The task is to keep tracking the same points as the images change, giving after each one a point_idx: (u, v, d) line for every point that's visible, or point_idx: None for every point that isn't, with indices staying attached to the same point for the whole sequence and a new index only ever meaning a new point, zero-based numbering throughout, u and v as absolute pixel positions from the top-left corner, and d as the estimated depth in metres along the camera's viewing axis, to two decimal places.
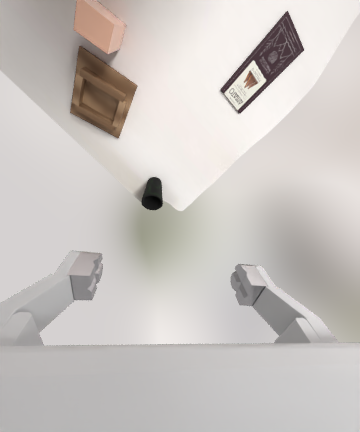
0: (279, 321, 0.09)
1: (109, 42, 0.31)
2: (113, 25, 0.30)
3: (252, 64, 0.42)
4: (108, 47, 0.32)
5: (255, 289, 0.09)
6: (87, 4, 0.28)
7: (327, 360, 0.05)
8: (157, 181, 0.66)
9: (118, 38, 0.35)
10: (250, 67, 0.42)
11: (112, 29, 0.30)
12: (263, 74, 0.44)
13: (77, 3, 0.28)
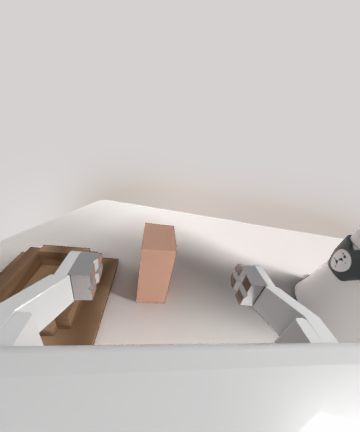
0: (279, 321, 0.09)
1: (156, 249, 0.21)
2: (175, 251, 0.22)
3: None
4: (149, 249, 0.21)
5: (255, 289, 0.09)
6: (173, 232, 0.26)
7: (327, 360, 0.06)
8: None
9: (153, 283, 0.24)
10: None
11: (171, 250, 0.22)
12: None
13: (168, 226, 0.27)
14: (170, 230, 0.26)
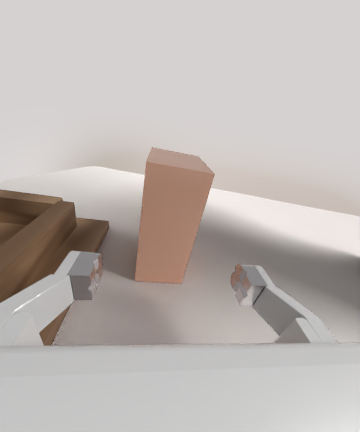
0: (279, 321, 0.09)
1: (175, 166, 0.11)
2: (211, 174, 0.11)
3: None
4: (162, 164, 0.11)
5: (255, 289, 0.09)
6: (199, 160, 0.15)
7: (327, 360, 0.05)
8: None
9: (166, 244, 0.14)
10: None
11: (203, 171, 0.11)
12: None
13: (189, 155, 0.16)
14: (194, 158, 0.15)
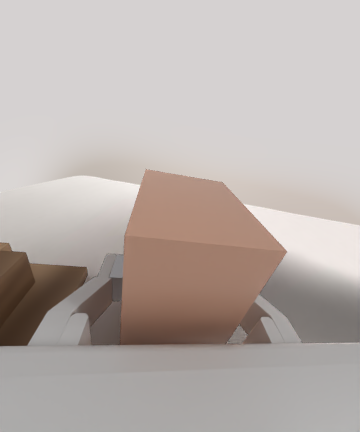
0: (248, 320, 0.08)
1: (196, 239, 0.04)
2: None
3: None
4: (167, 238, 0.04)
5: None
6: None
7: (327, 360, 0.06)
8: None
9: None
10: None
11: (261, 246, 0.05)
12: None
13: (208, 181, 0.10)
14: (219, 189, 0.09)
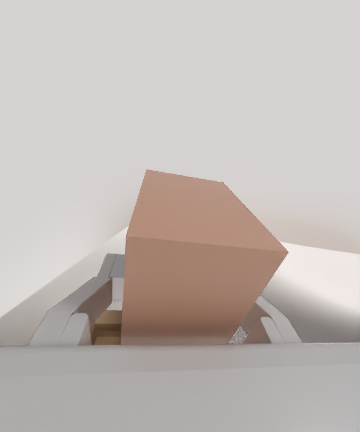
0: (248, 320, 0.08)
1: (198, 240, 0.04)
2: None
3: None
4: (168, 238, 0.04)
5: None
6: None
7: (327, 360, 0.05)
8: None
9: None
10: None
11: (263, 247, 0.05)
12: None
13: (208, 181, 0.10)
14: (220, 189, 0.09)
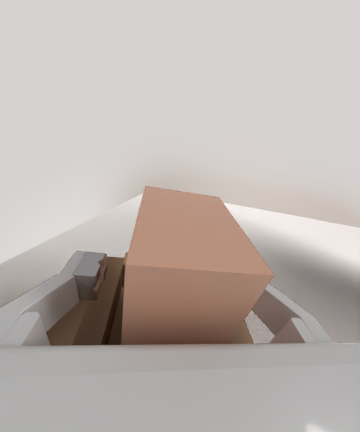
0: (275, 321, 0.09)
1: (190, 266, 0.05)
2: None
3: None
4: (164, 265, 0.05)
5: None
6: None
7: (327, 360, 0.06)
8: None
9: None
10: None
11: (250, 270, 0.05)
12: None
13: (204, 196, 0.10)
14: (215, 205, 0.09)
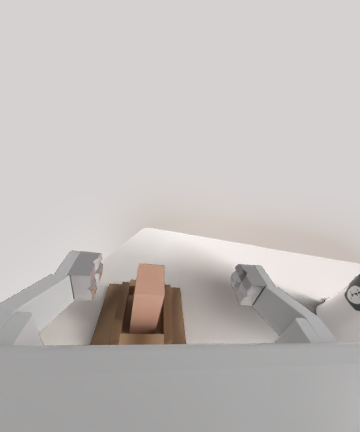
0: (279, 321, 0.09)
1: (146, 293, 0.25)
2: (163, 294, 0.26)
3: None
4: (141, 293, 0.25)
5: (255, 289, 0.09)
6: (163, 272, 0.29)
7: (327, 360, 0.05)
8: None
9: (145, 318, 0.28)
10: None
11: (159, 294, 0.25)
12: None
13: (159, 265, 0.30)
14: (160, 270, 0.29)
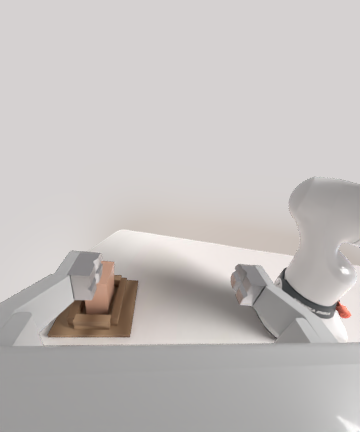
0: (279, 321, 0.09)
1: None
2: (106, 283, 0.34)
3: None
4: None
5: (255, 289, 0.09)
6: (111, 267, 0.37)
7: (327, 360, 0.06)
8: None
9: (96, 303, 0.36)
10: None
11: (103, 283, 0.33)
12: None
13: (109, 262, 0.38)
14: (109, 266, 0.37)
